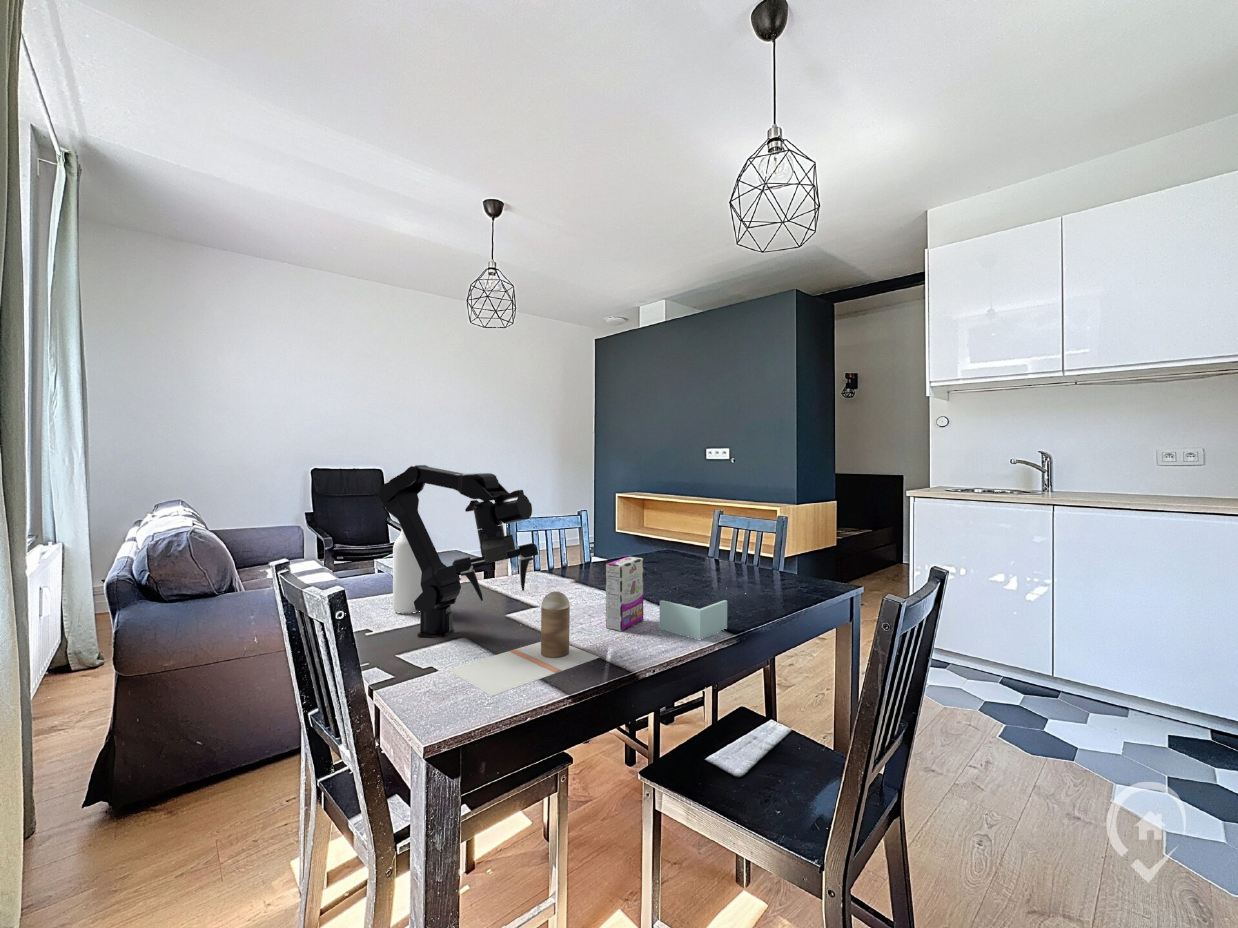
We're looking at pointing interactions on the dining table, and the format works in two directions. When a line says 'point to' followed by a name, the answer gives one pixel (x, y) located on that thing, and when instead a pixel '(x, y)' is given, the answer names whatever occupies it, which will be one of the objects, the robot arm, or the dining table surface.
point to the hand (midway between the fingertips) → (502, 595)
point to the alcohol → (405, 576)
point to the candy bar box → (624, 593)
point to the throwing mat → (517, 668)
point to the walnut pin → (555, 625)
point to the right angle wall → (693, 619)
